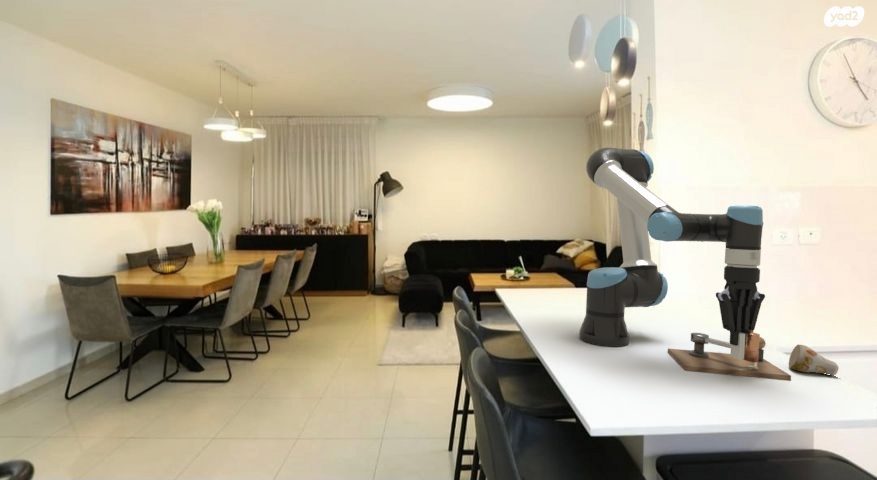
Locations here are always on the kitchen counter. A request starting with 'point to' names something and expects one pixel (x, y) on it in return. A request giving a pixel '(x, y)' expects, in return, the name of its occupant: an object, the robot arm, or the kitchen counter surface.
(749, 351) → the lever
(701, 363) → the wooden board
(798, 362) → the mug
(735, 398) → the kitchen counter surface
